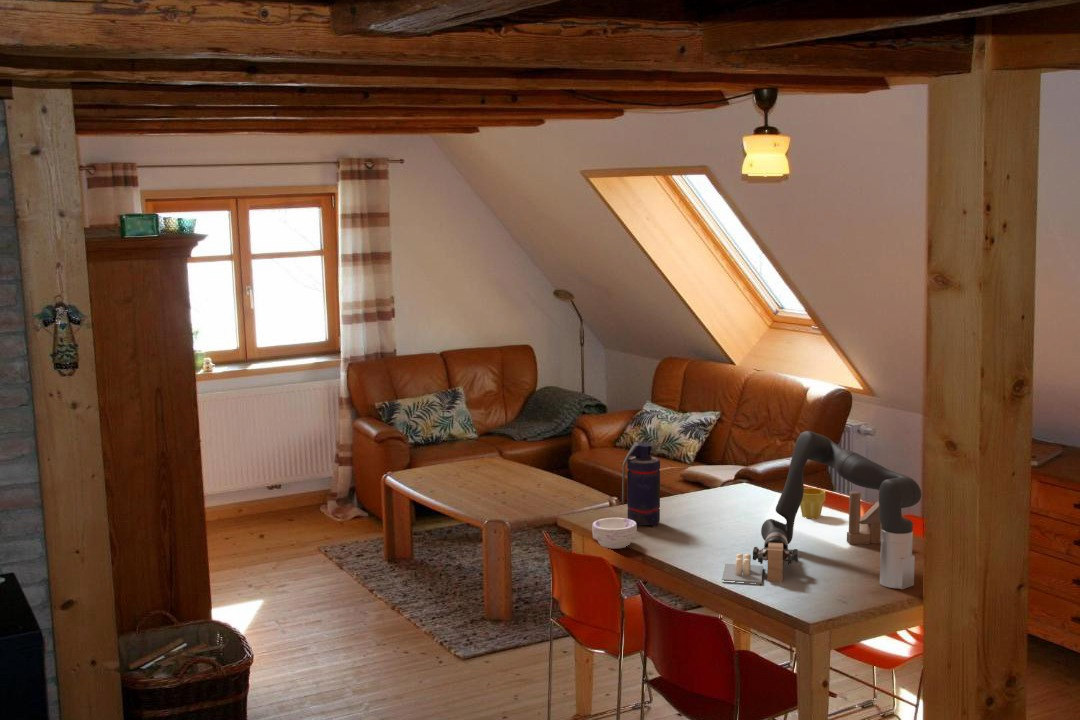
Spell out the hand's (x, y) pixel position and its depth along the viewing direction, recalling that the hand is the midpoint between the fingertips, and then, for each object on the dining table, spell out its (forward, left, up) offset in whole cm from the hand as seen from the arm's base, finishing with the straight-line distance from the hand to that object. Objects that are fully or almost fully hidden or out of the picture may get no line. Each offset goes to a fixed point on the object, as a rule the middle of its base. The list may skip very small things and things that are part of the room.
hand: (774, 561), depth 360 cm
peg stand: (+9, +4, -6) cm, 12 cm away
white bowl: (+59, +14, -6) cm, 61 cm away
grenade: (+73, -11, -6) cm, 74 cm away
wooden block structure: (+7, -54, -6) cm, 55 cm away
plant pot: (+41, -66, -6) cm, 78 cm away
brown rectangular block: (+2, -2, -6) cm, 7 cm away
